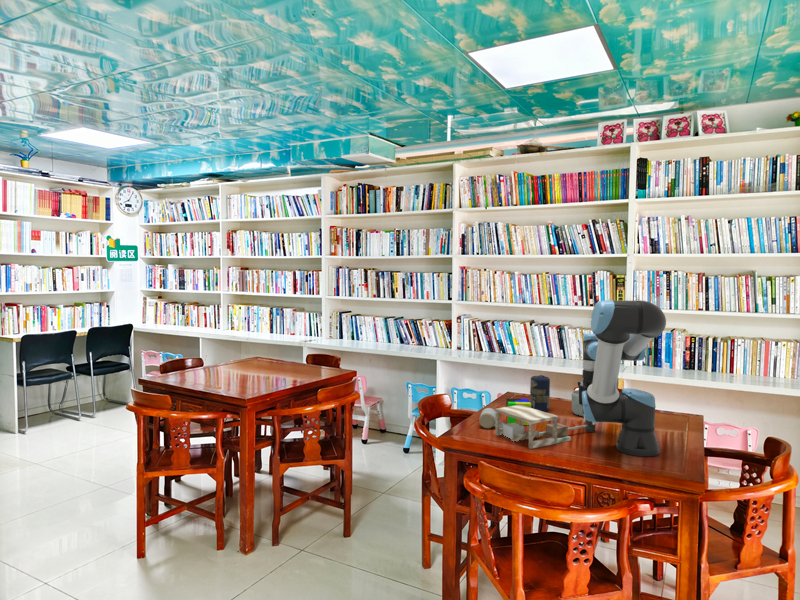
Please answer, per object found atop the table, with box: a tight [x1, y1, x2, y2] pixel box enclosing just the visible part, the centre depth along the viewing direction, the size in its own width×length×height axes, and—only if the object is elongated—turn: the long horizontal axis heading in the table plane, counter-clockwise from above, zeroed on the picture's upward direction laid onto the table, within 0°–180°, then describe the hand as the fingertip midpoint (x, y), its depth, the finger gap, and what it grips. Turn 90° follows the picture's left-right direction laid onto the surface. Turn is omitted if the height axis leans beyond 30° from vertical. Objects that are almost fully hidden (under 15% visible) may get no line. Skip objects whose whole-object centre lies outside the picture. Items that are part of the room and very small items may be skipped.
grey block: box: [502, 423, 525, 440], centre depth 223 cm, size 6×6×5 cm
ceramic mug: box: [478, 407, 504, 430], centre depth 237 cm, size 11×8×8 cm
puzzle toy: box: [505, 397, 531, 425], centre depth 245 cm, size 10×10×10 cm
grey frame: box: [545, 420, 596, 439], centre depth 226 cm, size 25×6×12 cm, turn 119°
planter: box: [570, 389, 584, 417], centre depth 259 cm, size 12×12×11 cm
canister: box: [529, 374, 551, 412], centre depth 268 cm, size 10×10×18 cm
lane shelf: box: [494, 405, 572, 450], centre depth 221 cm, size 22×22×11 cm
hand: (590, 422), depth 231 cm, fingers closed on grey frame, 4 cm apart
